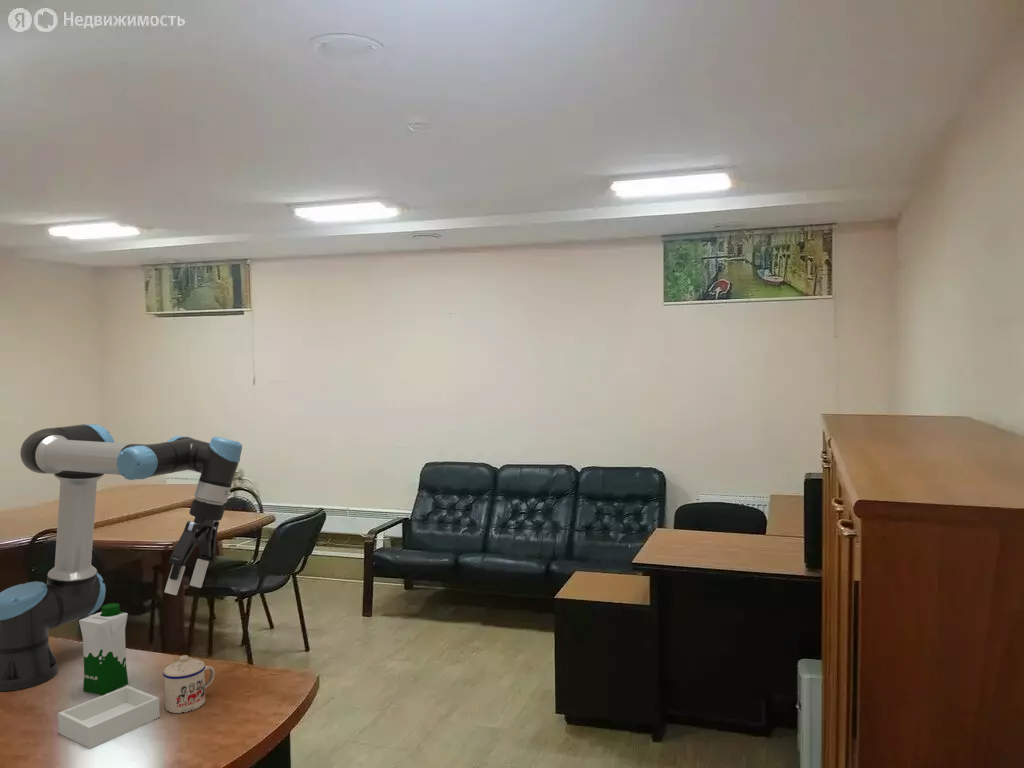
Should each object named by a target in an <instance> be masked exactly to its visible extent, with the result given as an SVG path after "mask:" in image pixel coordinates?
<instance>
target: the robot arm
mask: <svg viewBox="0 0 1024 768" xmlns="http://www.w3.org/2000/svg"><path fill="white" fill-rule="evenodd" d="M242 450H243V444H242V443H241V442H239V441H235V440H232V439H229V438H228V439H227V438H225V437H220V436H213V437H212V438H211V440H210V442H207V441H202V440H199V439H195V438H193V437H190V436H184V435H183V436H182V435H175V436H173V437H171V438H170V439H169V440H167V441H166V442H158V443H152V444H151V443H150V444H143V443H142V444H141V443H125V442H115V439H114V438H113V436H112V435H111V434H110V432H109V430H108V429H106V428H105V427H104V426H102V425H100V424H93V423H92V424H85V423H84V424H83V423H82V424H75V425H68V426H58V427H49V428H43V429H40V430H37V431H35V432H32V433H31V434H30V435H29V436H28V437H27V438H25V439H24V441H23V442H22V443H21V447H20V451H19V452H20V453H19V454H20V459H21V462H22V463H23V465H24V467H26V468H27V469H28V470H30V471H31V472H33V473H38V474H51V475H52V474H53V476H54V477H55V478H56V479H58V481H59V495H58V509H57V510H58V511H57V526H56V528H57V529H56V541H55V542H56V543H55V554H54V555H55V558H54V567H52V568H51V569H50V570H49V571H47V572H48V573H47V577H46V583H45V582H42V581H29V582H25V583H20V584H16V585H13V586H10V587H8V588H6V589H4V590H2V591H1V592H0V692H10V691H18V690H22V689H27V688H31V687H34V686H38V685H40V684H42V683H45V682H47V681H49V680H50V679H52V678H54V677H56V675H57V674H58V672H59V671H58V670H59V668H58V660H57V658H56V657H55V654H54V652H53V650H52V647H51V645H50V642H49V631H50V630H52V629H54V628H57V627H59V626H63V625H65V624H68V623H70V622H71V623H72V622H74V621H76V620H81V619H84V618H86V617H88V616H90V615H93V614H94V613H95V612H96V611H98V610H99V609H101V607H102V606H103V603H104V601H105V599H106V592H107V591H106V590H107V589H106V584H105V582H104V579H103V576H101V574H100V573H98V569H97V568H96V567H94V566H93V565H92V557H93V545H94V544H93V543H94V532H95V531H94V530H95V529H94V528H95V527H94V526H95V513H96V503H97V502H96V499H97V489H98V488H97V485H98V481H99V480H101V478H102V477H103V476H105V475H117V476H122V477H123V478H125V479H126V480H131V481H133V480H145V479H147V478H152V477H156V476H157V477H158V476H162V475H167V474H173V473H177V472H178V473H179V472H184V471H193V472H195V473H199V474H200V475H199V479H198V481H197V486H196V489H195V492H194V495H193V496H194V497H195V498H194V499H193V500H192V503H191V506H190V509H189V514H190V515H191V516H192V517H194V519H193V521H190V520H188V521H187V522H186V524H185V527H184V530H183V531H182V534H181V535H180V537H179V539H178V542H177V543H176V545H175V547H174V549H173V551H172V553H171V555H170V557H169V559H168V564H171V565H172V566H171V569H170V572H169V575H168V578H167V582H166V584H165V589H164V591H163V592H164V593H166V594H170V595H173V596H178V592H179V589H180V586H181V582H182V579H183V577H184V576H183V575H184V573H185V571H186V565H185V564H186V562H187V561H188V559H189V557H190V556H191V554H193V553H192V552H193V551H194V550H195V548H196V546H197V545H198V549H199V550H198V551H199V558H197V559H196V563H195V566H194V569H193V573H192V575H191V580H190V583H189V586H191V587H195V588H199V589H201V588H202V587H203V583H204V580H205V577H206V573H207V569H208V567H209V564H210V562H213V561H214V560H215V554H216V546H217V545H216V544H217V537H218V529H219V526H220V521H222V520H223V517H224V512H225V510H226V506H225V505H224V504H226V503H227V502H228V498H229V496H231V495H232V492H231V488H232V486H233V485H232V484H233V481H234V478H235V476H236V471H237V469H238V466H239V463H240V461H241V455H242V452H243V451H242Z"/></svg>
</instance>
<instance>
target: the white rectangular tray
mask: <svg viewBox="0 0 1024 768" xmlns="http://www.w3.org/2000/svg"><path fill="white" fill-rule="evenodd" d="M160 714H161V713H160V697H157V696H155V695H152V694H150V693H147V692H146V691H142V690H140V689H138V688H135V687H132V686H130V685H124V686H122V687H120V688H118V689H116V690H114V691H112V692H110V693H108V694H105V695H99V696H98V697H95V698H93V699H90V700H88V701H85V702H83V703H80V704H78V705H75V706H73V707H70V708H68V709H65V710H63V711H60V712H57V719H58V721H57V722H58V734H60V736H61V735H62V736H64V737H66V738H68V739H69V740H72V741H73V742H76V744H77V743H78V744H79V745H81V746H83V747H85V748H88V749H89V750H90V748H91V749H92V748H95V747H98V746H99V744H100V745H102V744H105V743H106V742H108V741H110V740H112V739H115V738H117V737H119V736H122V735H124V734H126V733H128V732H131V731H133V730H135V729H137V728H139V727H141V726H144V725H146V724H149V723H150V722H153V721H155V720H157V719H159V718H158V717H160ZM156 718H157V719H156ZM154 719H155V720H154Z"/></svg>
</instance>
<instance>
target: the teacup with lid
mask: <svg viewBox="0 0 1024 768" xmlns="http://www.w3.org/2000/svg"><path fill="white" fill-rule="evenodd" d="M208 670H209V672H210V673H209V678H208V679H207V681H205V680H206V679H205V677H206V676H205V671H208ZM215 671H216V670H215V668H214V667H213V666H210V665H205V662H204V661H203V660H200V659H194V658H191V657H190V658H189V655H187V654H183V655H181V656H179V659H178V660H176V661H175V662H172V663H171V664H170V663H169V665H167V666H166V667H165V668H164V669H163V672H162V675H163V678H164V679H163V680H164V709H165V710H166V711H169V713H171V712H172V713H173V714H183V713H182V712H184V713H188V711H189V712H192V711H194V710H197V709H199V708H201V707H202V706H203V705H204V704H205V702H206V688H208V687H210V685H211V684H212V683H213V681H214V679H215V673H216V672H215ZM200 706H201V707H200ZM191 710H192V711H191Z"/></svg>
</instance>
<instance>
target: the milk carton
mask: <svg viewBox="0 0 1024 768" xmlns="http://www.w3.org/2000/svg"><path fill="white" fill-rule="evenodd" d="M100 609H101V611H100V612H99V611H98V612H96V613H95V614H94V613H93V614H90V615H87V616H86V617H84V618H82V619H78V623H79V626H80V627H79V628H80V631H81V636H82V650H83V652H82V655H83V688H82V689H83V692H86V693H90V694H95V695H98V694H99V696H103V695H105V694H107V693H110V692H113V691H115V690H118V689H120V688H123V687H125V686H127V685H128V684H129V678H128V670H127V656H126V655H127V654H126V653H127V652H126V626H127V621H128V615H129V613H127V612H124V611H121V609H120V603H117V602H112V603H107V604H104V605H103V604H102V605H101V606H100Z"/></svg>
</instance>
